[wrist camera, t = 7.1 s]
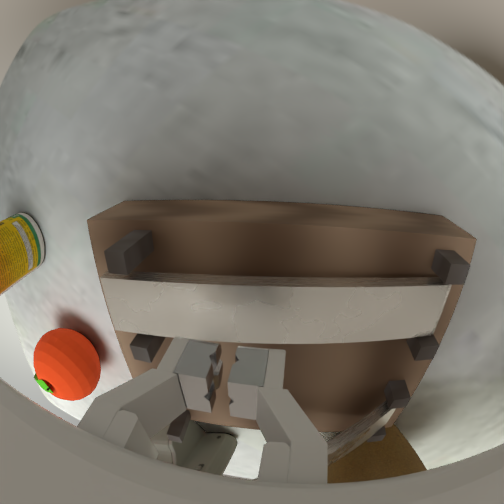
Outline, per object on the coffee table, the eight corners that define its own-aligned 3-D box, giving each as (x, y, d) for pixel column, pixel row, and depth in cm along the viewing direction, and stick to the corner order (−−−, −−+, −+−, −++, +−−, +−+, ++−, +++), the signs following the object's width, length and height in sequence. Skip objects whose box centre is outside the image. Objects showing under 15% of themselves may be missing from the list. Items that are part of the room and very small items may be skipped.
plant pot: (272, 444, 26) (256, 567, 11) (379, 382, 20) (406, 555, 5) (354, 467, 28) (356, 561, 13) (445, 417, 22) (472, 525, 7)
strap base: (442, 215, 14) (505, 261, 8) (383, 391, 20) (396, 452, 14) (124, 201, 16) (55, 237, 10) (162, 376, 23) (135, 432, 17)
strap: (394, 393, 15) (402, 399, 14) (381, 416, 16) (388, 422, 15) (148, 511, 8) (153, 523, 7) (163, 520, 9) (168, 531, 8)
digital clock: (136, 435, 30) (111, 493, 21) (103, 397, 27) (66, 461, 17) (246, 449, 27) (233, 524, 17) (226, 411, 24) (202, 506, 14)
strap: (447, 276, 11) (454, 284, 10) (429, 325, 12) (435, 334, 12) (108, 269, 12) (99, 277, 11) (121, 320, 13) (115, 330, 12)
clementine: (78, 366, 25) (47, 408, 19) (45, 317, 23) (5, 357, 16) (125, 368, 23) (92, 422, 17) (87, 310, 21) (40, 361, 14)
